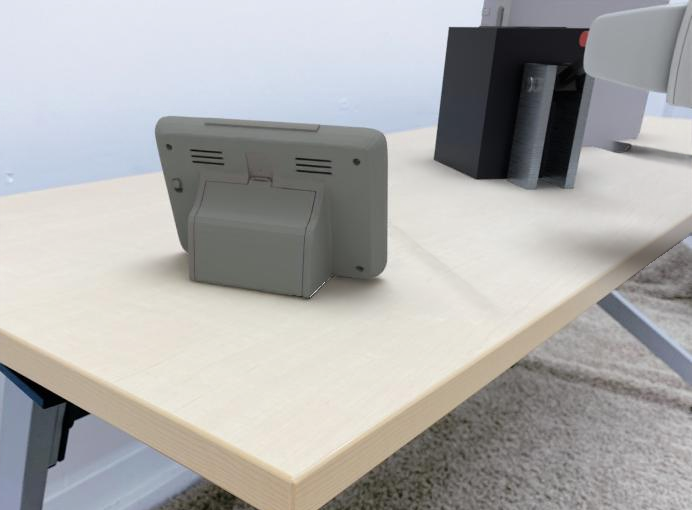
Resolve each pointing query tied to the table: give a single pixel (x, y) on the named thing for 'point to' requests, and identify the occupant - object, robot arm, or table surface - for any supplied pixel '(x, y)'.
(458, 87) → the toaster
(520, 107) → the lever bracket
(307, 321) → the table surface
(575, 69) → the toaster lever
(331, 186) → the digital clock
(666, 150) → the table surface
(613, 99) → the game console
